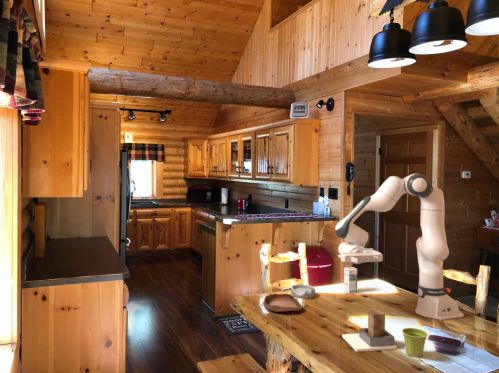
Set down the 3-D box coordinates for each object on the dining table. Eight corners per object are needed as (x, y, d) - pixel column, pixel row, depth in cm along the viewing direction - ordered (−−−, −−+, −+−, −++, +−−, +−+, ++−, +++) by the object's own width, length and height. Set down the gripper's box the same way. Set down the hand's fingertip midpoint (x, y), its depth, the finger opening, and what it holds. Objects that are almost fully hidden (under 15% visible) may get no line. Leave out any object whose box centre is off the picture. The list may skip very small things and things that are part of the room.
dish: (314, 299, 228) (314, 291, 228) (290, 298, 230) (290, 289, 230) (315, 292, 242) (315, 284, 242) (291, 291, 245) (292, 283, 244)
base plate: (379, 334, 178) (379, 332, 178) (396, 349, 163) (396, 346, 163) (342, 336, 175) (342, 334, 175) (356, 351, 161) (356, 349, 160)
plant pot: (420, 348, 163) (421, 327, 163) (432, 359, 154) (432, 336, 154) (397, 349, 163) (398, 327, 163) (407, 359, 154) (407, 337, 154)
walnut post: (379, 338, 172) (379, 310, 171) (384, 342, 167) (385, 314, 166) (367, 338, 171) (368, 310, 170) (373, 343, 166) (373, 314, 166)
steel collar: (381, 335, 175) (382, 327, 174) (394, 345, 164) (394, 336, 164) (359, 336, 173) (359, 328, 173) (370, 346, 163) (370, 338, 163)
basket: (310, 313, 206) (310, 303, 206) (274, 318, 199) (274, 308, 198) (290, 300, 227) (290, 291, 227) (257, 304, 220) (257, 295, 219)
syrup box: (348, 293, 239) (348, 269, 239) (343, 291, 245) (344, 267, 244) (357, 293, 241) (357, 268, 240) (352, 290, 246) (352, 266, 246)
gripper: (336, 249, 202) (347, 254, 188) (374, 248, 205) (388, 253, 191) (336, 261, 202) (346, 267, 188) (374, 260, 205) (388, 266, 191)
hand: (368, 260), depth 190 cm, fingers open, 8 cm apart
